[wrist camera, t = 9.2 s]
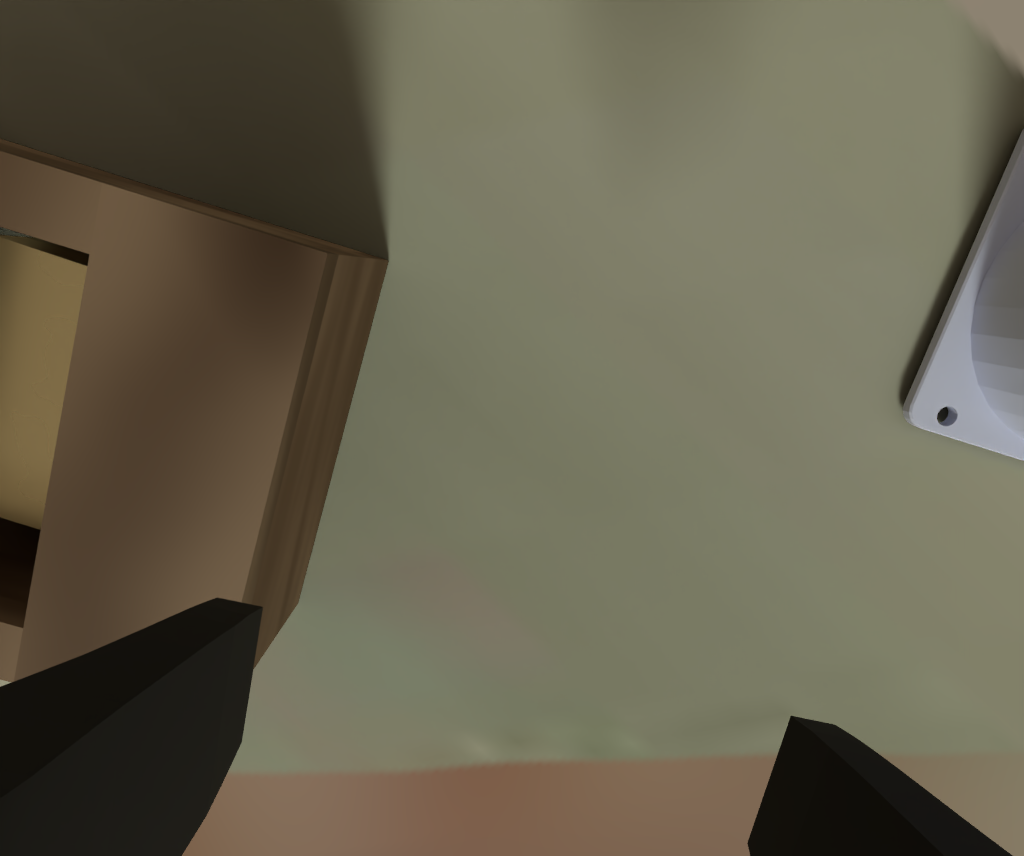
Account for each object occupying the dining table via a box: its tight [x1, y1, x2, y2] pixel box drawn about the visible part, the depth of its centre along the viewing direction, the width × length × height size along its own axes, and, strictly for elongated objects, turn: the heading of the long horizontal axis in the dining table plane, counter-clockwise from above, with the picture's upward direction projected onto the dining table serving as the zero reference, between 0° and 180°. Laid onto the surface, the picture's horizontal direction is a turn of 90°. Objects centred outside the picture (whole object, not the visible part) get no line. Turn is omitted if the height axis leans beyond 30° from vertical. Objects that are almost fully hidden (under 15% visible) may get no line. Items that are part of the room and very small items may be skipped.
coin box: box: [0, 139, 389, 682], centre depth 16 cm, size 12×10×6 cm
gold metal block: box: [0, 235, 90, 530], centre depth 17 cm, size 2×6×4 cm, turn 161°
